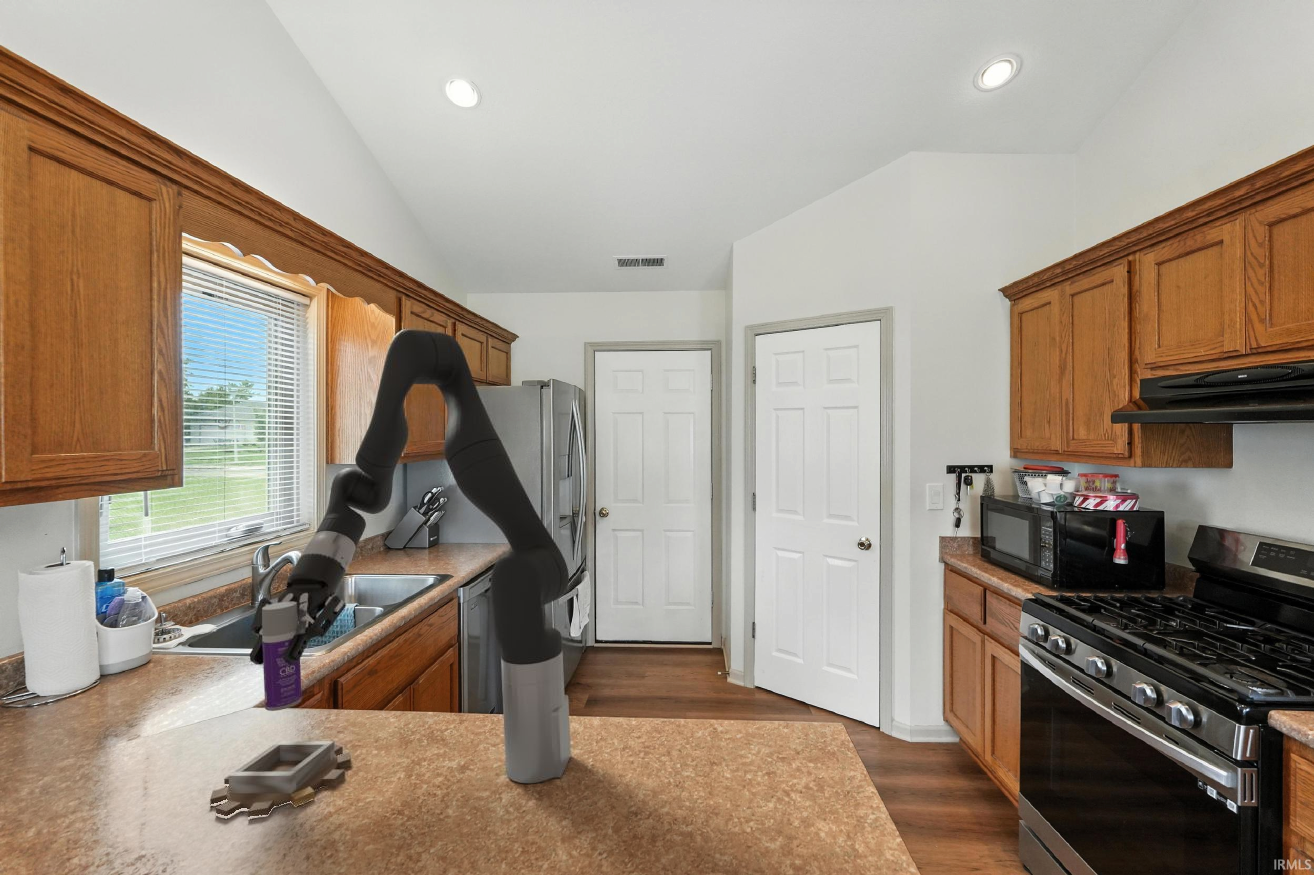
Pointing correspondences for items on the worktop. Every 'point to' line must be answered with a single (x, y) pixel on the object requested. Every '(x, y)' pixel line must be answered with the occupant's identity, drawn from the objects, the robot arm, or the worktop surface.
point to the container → (280, 656)
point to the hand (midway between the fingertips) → (272, 661)
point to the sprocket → (282, 777)
